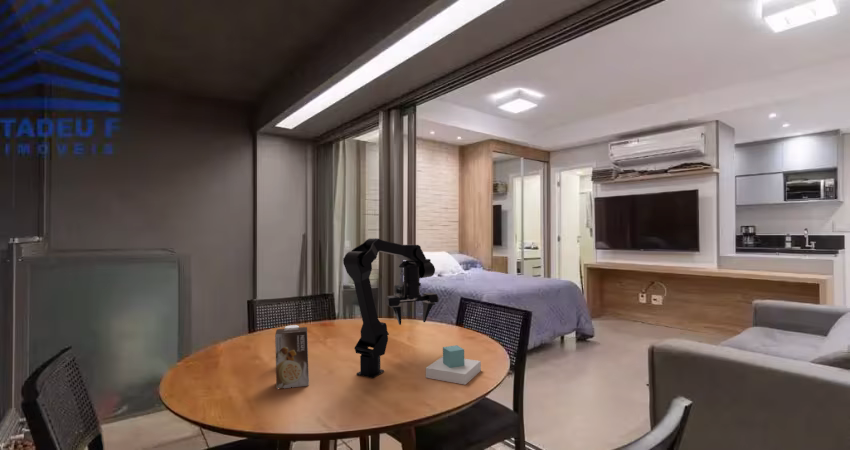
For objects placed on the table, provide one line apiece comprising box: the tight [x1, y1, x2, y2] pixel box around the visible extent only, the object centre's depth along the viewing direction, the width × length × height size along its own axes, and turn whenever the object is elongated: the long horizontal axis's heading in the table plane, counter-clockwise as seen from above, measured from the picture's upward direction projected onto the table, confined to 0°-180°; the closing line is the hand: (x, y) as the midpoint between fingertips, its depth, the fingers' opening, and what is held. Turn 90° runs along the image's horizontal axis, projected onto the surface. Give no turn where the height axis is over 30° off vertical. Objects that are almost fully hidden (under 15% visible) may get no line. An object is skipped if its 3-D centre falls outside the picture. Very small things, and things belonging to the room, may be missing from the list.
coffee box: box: [274, 326, 310, 390], centre depth 118 cm, size 9×6×16 cm
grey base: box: [425, 356, 482, 385], centre depth 123 cm, size 13×13×3 cm
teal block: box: [442, 345, 465, 368], centre depth 123 cm, size 5×5×5 cm
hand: (412, 323), depth 141 cm, fingers open, 9 cm apart
